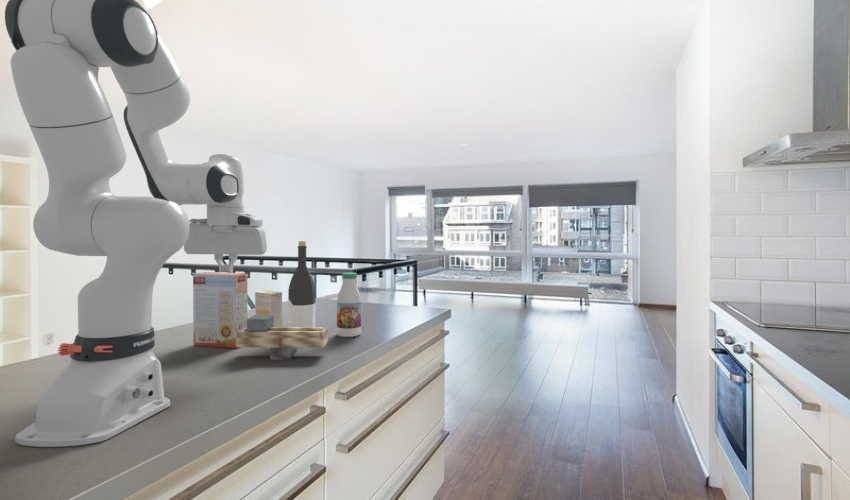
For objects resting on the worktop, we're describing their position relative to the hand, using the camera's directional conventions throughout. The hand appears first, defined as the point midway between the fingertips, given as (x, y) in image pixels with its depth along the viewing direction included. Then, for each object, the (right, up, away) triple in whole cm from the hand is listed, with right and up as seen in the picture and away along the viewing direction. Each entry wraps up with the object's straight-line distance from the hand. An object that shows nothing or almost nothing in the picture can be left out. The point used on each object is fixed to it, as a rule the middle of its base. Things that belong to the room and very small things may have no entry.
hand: (226, 271), depth 114 cm
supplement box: (+1, -21, +30) cm, 37 cm away
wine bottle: (+14, -22, +21) cm, 34 cm away
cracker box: (-7, -22, +12) cm, 26 cm away
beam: (+15, -22, +1) cm, 27 cm away
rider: (+9, -17, +1) cm, 19 cm away
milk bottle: (+28, -22, +26) cm, 44 cm away
